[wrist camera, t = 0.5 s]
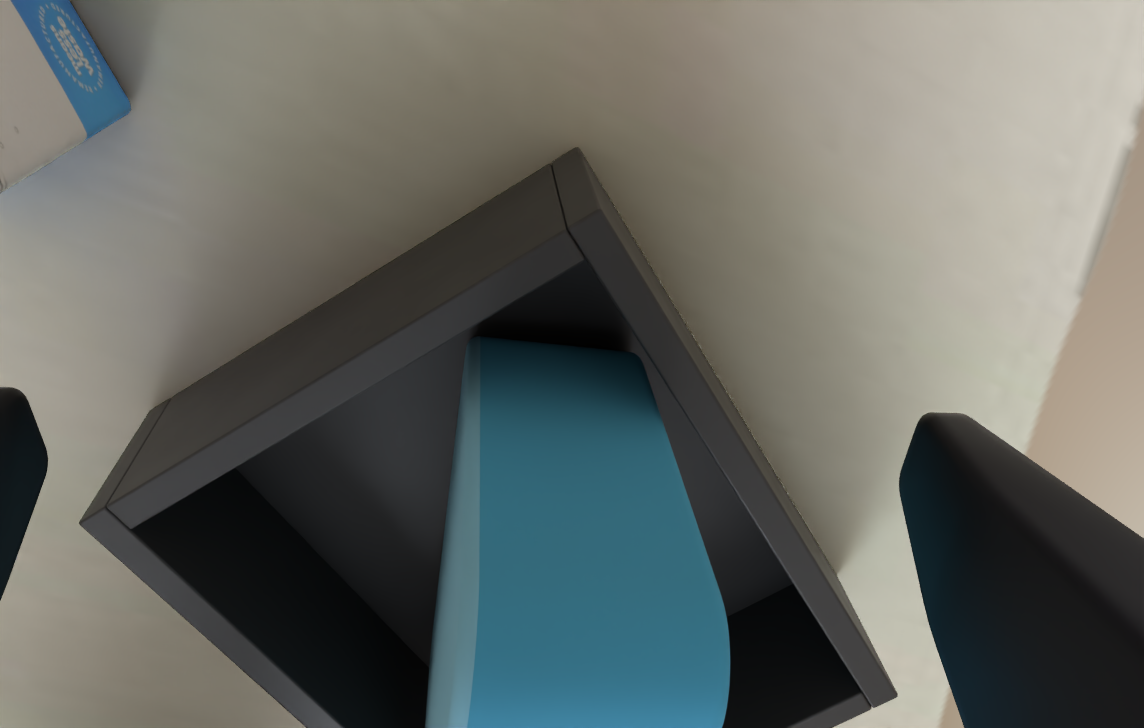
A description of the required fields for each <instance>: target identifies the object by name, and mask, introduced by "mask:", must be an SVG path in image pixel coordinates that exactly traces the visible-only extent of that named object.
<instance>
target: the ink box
mask: <svg viewBox="0 0 1144 728" xmlns="http://www.w3.org/2000/svg"><path fill="white" fill-rule="evenodd" d="M130 111H131V105H130V102H129V100H128V98H127V96H126V95H125V93H124V92H123V90H122V88H121V87H120V85H119V83H118V81H117V80H116V78H115V76H114V75H113V73H112V71H111V70H110V68H109V66H108V64H107V63H106V61H105V60H104V58H103V56H102V55H101V53H100V51H99V50H98V48H97V46H96V45H95V43H94V41H93V39H92V38H91V36H90V34H89V33H88V31H87V29H86V28H85V26H84V24H83V23H82V21H81V19H80V18H79V16H78V14H77V13H76V11H75V9H74V8H73V6H72V4H71V3H70V1H69V0H0V193H1V192H3V191H5V190H7V189H8V188H10V187H12V186H13V185H15V184H17V183H18V182H20V181H22V180H23V179H25V178H26V177H28V176H30V175H31V174H33V173H35V172H36V171H38V170H39V169H41V168H43V167H44V166H46V165H47V164H49V163H50V162H52V161H54V160H55V159H57V158H58V157H60V156H61V155H63V154H64V153H66V152H68V151H69V150H71V149H73V148H74V147H76V146H78V145H79V144H81V143H82V142H84V141H85V140H87V139H88V138H90V137H92V136H93V135H95V134H96V133H98V132H100V131H101V130H103V129H104V128H106V127H108V126H109V125H111V124H112V123H114V122H116V121H117V120H119V119H121V118H122V117H124V116H125V115H127V114H128V113H129V112H130Z"/></svg>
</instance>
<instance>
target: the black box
mask: <svg viewBox="0 0 1144 728" xmlns="http://www.w3.org/2000/svg"><path fill="white" fill-rule="evenodd" d="M477 336H480V337H490V338H500V339H509V340H519V341H528V342H538V343H548V344H557V345H567V346H576V347H586V348H596V349H605V350H615V351H625V352H632V353H635V354H636V355H638V356H639V357H640V359H641V360H642V362H643V365H644V368H645V371H646V374H647V376H648V379H649V382H650V385H651V388H652V391H653V394H654V397H655V400H656V403H657V406H658V409H659V412H660V415H661V418H662V421H663V424H664V427H665V430H666V433H667V436H668V439H669V442H670V445H671V448H672V451H673V454H674V457H675V460H676V463H677V466H678V469H679V472H680V475H681V477H682V480H683V483H684V486H685V489H686V492H687V495H688V498H689V501H690V504H691V507H692V510H693V513H694V516H695V519H696V522H697V525H698V528H699V531H700V534H701V537H702V540H703V543H704V546H705V549H706V552H707V555H708V558H709V561H710V564H711V567H712V570H713V573H714V576H715V578H716V581H717V584H718V587H719V590H720V593H721V597H722V600H723V603H724V607H725V612H726V617H727V623H728V631H729V643H730V684H729V695H728V703H727V709H726V714H725V719H724V723H723V727H722V728H832V727H834V726H837V725H839V724H841V723H843V722H845V721H847V720H849V719H852V718H854V717H856V716H858V715H860V714H862V713H864V712H867V711H869V710H870V709H871V706H872V707H873V708H874V707H877V706H879V705H881V704H884V703H886V702H888V701H890V700H892V699H894V698H896V697H897V692H896V690H895V688H894V686H893V684H892V682H891V680H890V678H889V676H888V674H887V673H886V671H885V669H884V667H883V665H882V663H881V661H880V659H879V657H878V655H877V653H876V651H875V649H874V647H873V645H872V643H871V641H870V639H869V637H868V636H867V634H866V632H865V630H864V628H863V626H862V624H861V622H860V620H859V618H858V616H857V614H856V612H855V610H854V608H853V606H852V604H851V602H850V600H849V599H848V597H847V595H846V593H845V591H844V589H843V587H842V585H841V583H840V581H839V579H838V577H837V576H836V574H835V572H834V571H833V569H832V567H831V566H830V564H829V562H828V561H827V559H826V557H825V556H824V554H823V552H822V551H821V549H820V547H819V546H818V544H817V542H816V541H815V539H814V537H813V536H812V534H811V532H810V531H809V529H808V527H807V526H806V524H805V522H804V521H803V519H802V517H801V516H800V514H799V512H798V511H797V509H796V507H795V506H794V504H793V502H792V501H791V499H790V497H789V496H788V494H787V492H786V491H785V489H784V487H783V486H782V484H781V483H780V481H779V479H778V478H777V476H776V474H775V473H774V471H773V469H772V468H771V466H770V464H769V463H768V461H767V459H766V458H765V456H764V454H763V453H762V451H761V449H760V448H759V446H758V444H757V443H756V441H755V439H754V438H753V436H752V434H751V433H750V431H749V429H748V428H747V426H746V424H745V423H744V421H743V419H742V418H741V416H740V414H739V413H738V411H737V409H736V408H735V406H734V404H733V403H732V401H731V399H730V398H729V396H728V394H727V393H726V391H725V389H724V388H723V386H722V385H721V383H720V381H719V380H718V378H717V376H716V375H715V373H714V371H713V370H712V368H711V366H710V365H709V363H708V361H707V360H706V358H705V356H704V355H703V353H702V351H701V350H700V348H699V346H698V345H697V343H696V341H695V340H694V338H693V336H692V335H691V333H690V331H689V330H688V328H687V326H686V325H685V323H684V321H683V320H682V318H681V316H680V315H679V313H678V311H677V310H676V308H675V306H674V305H673V303H672V301H671V300H670V298H669V296H668V295H667V293H666V291H665V290H664V288H663V286H662V285H661V283H660V282H659V280H658V278H657V277H656V275H655V273H654V272H653V270H652V268H651V267H650V265H649V263H648V262H647V260H646V258H645V257H644V255H643V253H642V252H641V250H640V248H639V247H638V245H637V243H636V242H635V240H634V238H633V237H632V235H631V233H630V232H629V230H628V228H627V227H626V225H625V223H624V222H623V220H622V218H621V217H620V215H619V213H618V212H617V210H616V208H615V207H614V205H613V203H612V202H611V200H610V198H609V197H608V195H607V193H606V192H605V190H604V188H603V187H602V185H601V184H600V182H599V180H598V179H597V177H596V175H595V174H594V172H593V170H592V169H591V167H590V165H589V164H588V162H587V160H586V159H585V157H584V155H583V154H582V152H581V150H580V149H579V148H578V147H577V148H574V149H573V150H571V151H569V152H568V153H566V154H565V155H563V156H561V157H560V158H558V159H556V160H555V161H553V162H552V165H550V164H548V165H546V166H545V167H543V168H542V169H540V170H538V171H537V172H535V173H534V174H532V175H530V176H529V177H527V178H525V179H524V180H522V181H521V182H519V183H517V184H516V185H514V186H513V187H511V188H509V189H508V190H506V191H504V192H503V193H501V194H500V195H498V196H496V197H495V198H493V199H492V200H490V201H488V202H487V203H485V204H483V205H482V206H480V207H479V208H477V209H475V210H474V211H472V212H471V213H469V214H467V215H466V216H464V217H462V218H461V219H459V220H458V221H456V222H454V223H453V224H451V225H450V226H448V227H446V228H445V229H443V230H441V231H440V232H438V233H437V234H435V235H433V236H432V237H430V238H429V239H427V240H425V241H424V242H422V243H420V244H419V245H417V246H416V247H414V248H412V249H411V250H409V251H408V252H406V253H404V254H403V255H401V256H399V257H398V258H396V259H395V260H393V261H391V262H390V263H388V264H386V265H385V266H383V267H382V268H380V269H378V270H377V271H375V272H374V273H372V274H370V275H369V276H367V277H365V278H364V279H362V280H361V281H359V282H357V283H356V284H354V285H353V286H351V287H349V288H348V289H346V290H344V291H343V292H341V293H340V294H338V295H336V296H335V297H333V298H332V299H330V300H328V301H327V302H325V303H323V304H322V305H320V306H319V307H317V308H315V309H314V310H312V311H311V312H309V313H307V314H306V315H304V316H302V317H301V318H299V319H298V320H296V321H294V322H293V323H291V324H290V325H288V326H286V327H285V328H283V329H281V330H280V331H278V332H277V333H275V334H273V335H272V336H270V337H269V338H267V339H265V340H264V341H262V342H260V343H259V344H257V345H256V346H254V347H252V348H251V349H249V350H248V351H246V352H244V353H243V354H241V355H239V356H238V357H236V358H235V359H233V360H231V361H230V362H228V363H226V364H225V365H223V366H222V367H220V368H218V369H217V370H215V371H214V372H212V373H210V374H209V375H207V376H205V377H204V378H202V379H201V380H199V381H197V382H196V383H194V384H193V385H191V386H189V387H188V388H186V389H184V390H183V391H181V392H180V393H178V394H176V395H175V396H173V397H172V398H171V399H168V400H167V401H165V402H163V403H162V404H160V405H159V406H157V407H155V408H154V409H152V410H150V411H149V413H148V414H147V416H146V418H145V419H144V421H143V422H142V424H141V426H140V427H139V429H138V430H137V432H136V433H135V435H134V437H133V438H132V440H131V441H130V443H129V444H128V446H127V448H126V449H125V451H124V452H123V454H122V455H121V457H120V459H119V460H118V462H117V463H116V465H115V467H114V468H113V470H112V471H111V473H110V474H109V476H108V478H107V479H106V481H105V482H104V484H103V485H102V487H101V489H100V490H99V492H98V493H97V495H96V496H95V498H94V500H93V501H92V503H91V504H90V506H89V508H88V509H87V511H86V512H85V514H84V515H83V517H82V519H81V520H80V522H79V524H80V525H81V526H82V527H83V528H84V529H85V530H86V531H87V532H89V533H90V534H91V535H92V536H93V537H94V538H95V539H96V540H97V541H99V542H100V543H101V544H102V545H103V546H104V547H105V548H106V549H108V550H109V551H110V552H111V553H112V554H113V555H114V556H115V557H116V558H118V559H119V560H120V561H121V562H122V563H123V564H124V565H125V566H127V567H128V568H129V569H130V570H131V571H132V572H133V573H134V574H135V575H137V576H138V577H139V578H140V579H141V580H142V581H143V582H144V583H146V584H147V585H148V586H149V587H150V588H151V589H152V590H153V591H154V592H156V593H157V594H158V595H159V596H160V597H161V598H162V599H163V600H165V601H166V602H167V603H168V604H169V605H170V606H171V607H172V608H173V609H175V610H176V611H177V612H178V613H179V614H180V615H181V616H182V617H184V618H185V619H186V620H187V621H188V622H189V623H190V624H191V625H192V626H194V627H195V628H196V629H197V630H198V631H199V632H200V633H201V634H203V635H204V636H205V637H206V638H207V639H208V640H209V641H210V642H211V643H213V644H214V645H215V646H216V647H217V648H218V649H219V650H220V651H222V652H223V653H224V654H225V655H226V656H227V657H228V658H229V659H230V660H232V661H233V662H234V663H235V664H236V665H237V666H238V667H239V668H241V669H242V670H243V671H244V672H245V673H246V674H247V675H248V676H249V677H251V678H252V679H253V680H254V681H255V682H256V683H257V684H258V685H260V686H261V687H262V688H263V689H264V690H265V691H266V692H267V693H268V694H270V695H271V696H272V697H273V698H274V699H275V700H276V701H277V702H278V703H280V704H281V705H282V706H283V707H284V708H285V709H286V710H287V711H289V712H290V713H291V714H292V715H293V716H294V717H295V718H296V719H297V720H299V721H300V722H301V723H302V724H303V725H304V726H305V727H306V728H425V719H426V705H427V690H428V676H429V664H430V653H431V643H432V633H433V623H434V615H435V606H436V598H437V589H438V581H439V572H440V564H441V555H442V547H443V538H444V530H445V521H446V513H447V504H448V496H449V487H450V479H451V470H452V462H453V453H454V445H455V436H456V428H457V419H458V410H459V402H460V393H461V385H462V376H463V368H464V361H465V354H466V348H467V344H468V342H469V341H470V340H471V339H472V338H474V337H477Z"/></svg>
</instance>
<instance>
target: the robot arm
mask: <svg viewBox="0 0 1144 728" xmlns="http://www.w3.org/2000/svg"><path fill="white" fill-rule="evenodd" d="M47 467H48V456H47V450H46V447H45V444H44V442H43V439H42V436H41V434H40V431H39V428H38V426H37V423H36V420H35V418H34V415H33V413H32V410H31V407H30V405H29V402H28V400H27V398H26V396H25V395H24V394H23V393H22V392H21V391H20V390H18V389H15V388H10V387H0V600H1V598H2V595H3V593H4V590H5V588H6V585H7V582H8V580H9V577H10V574H11V571H12V568H13V566H14V563H15V560H16V557H17V554H18V552H19V549H20V546H21V543H22V541H23V538H24V535H25V532H26V529H27V527H28V524H29V521H30V518H31V515H32V513H33V510H34V507H35V504H36V502H37V499H38V496H39V493H40V490H41V488H42V485H43V482H44V479H45V476H46V473H47ZM899 491H900V497H901V502H902V506H903V511H904V515H905V520H906V524H907V529H908V534H909V538H910V543H911V547H912V552H913V556H914V561H915V565H916V570H917V574H918V579H919V584H920V588H921V593H922V597H923V602H924V606H925V610H926V614H927V618H928V622H929V625H930V628H931V632H932V635H933V638H934V641H935V644H936V647H937V650H938V653H939V656H940V659H941V662H942V665H943V667H944V670H945V673H946V676H947V679H948V682H949V685H950V688H951V690H952V693H953V696H954V699H955V702H956V705H957V707H958V710H959V713H960V716H961V719H962V722H963V725H964V728H1144V538H1142V537H1141V536H1139V535H1138V534H1137V533H1135V532H1134V531H1132V530H1131V529H1129V528H1128V527H1126V526H1125V525H1124V524H1122V523H1121V522H1119V521H1118V520H1117V519H1115V518H1114V517H1112V516H1111V515H1109V514H1108V513H1106V512H1105V511H1104V510H1102V509H1101V508H1099V507H1098V506H1096V505H1095V504H1093V503H1092V502H1091V501H1089V500H1088V499H1086V498H1085V497H1084V496H1082V495H1081V494H1079V493H1078V492H1076V491H1075V490H1073V489H1072V488H1071V487H1069V486H1068V485H1066V484H1065V483H1064V482H1062V481H1060V480H1059V479H1058V478H1056V477H1055V476H1053V475H1052V474H1051V473H1049V472H1048V471H1046V470H1045V469H1043V468H1042V467H1040V466H1039V465H1038V464H1036V463H1035V462H1033V461H1032V460H1031V459H1029V458H1028V457H1026V456H1025V455H1023V454H1022V453H1021V452H1019V451H1018V450H1016V449H1015V448H1013V447H1012V446H1010V445H1009V444H1008V443H1006V442H1005V441H1003V440H1002V439H1000V438H999V437H998V436H996V435H995V434H993V433H992V432H990V431H989V430H988V429H986V428H985V427H983V426H982V425H980V424H979V423H978V422H976V421H975V420H973V419H972V418H970V417H969V416H967V415H964V414H960V413H927V414H925V415H923V416H922V417H921V418H920V420H919V421H918V424H917V426H916V428H915V431H914V434H913V437H912V440H911V443H910V446H909V449H908V452H907V454H906V457H905V460H904V463H903V466H902V469H901V473H900V478H899Z"/></svg>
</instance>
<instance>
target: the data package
mask: <svg viewBox="0 0 1144 728" xmlns="http://www.w3.org/2000/svg"><path fill="white" fill-rule="evenodd" d="M729 684H730V643H729V631H728V623H727V617H726V612H725V607H724V603H723V600H722V597H721V593H720V590H719V587H718V584H717V581H716V578H715V576H714V573H713V570H712V567H711V564H710V561H709V558H708V555H707V552H706V549H705V546H704V543H703V540H702V537H701V534H700V531H699V528H698V525H697V522H696V519H695V516H694V513H693V510H692V507H691V504H690V501H689V498H688V495H687V492H686V489H685V486H684V483H683V480H682V477H681V475H680V472H679V469H678V466H677V463H676V460H675V457H674V454H673V451H672V448H671V445H670V442H669V439H668V436H667V433H666V430H665V427H664V424H663V421H662V418H661V415H660V412H659V409H658V406H657V403H656V400H655V397H654V394H653V391H652V388H651V385H650V382H649V379H648V376H647V374H646V371H645V368H644V365H643V362H642V360H641V359H640V357H639V356H638V355H636V354H635V353H632V352H625V351H615V350H605V349H596V348H586V347H576V346H567V345H557V344H548V343H538V342H528V341H519V340H509V339H500V338H490V337H480V336H477V337H474V338H472V339H471V340H470V341H469V342H468V344H467V348H466V354H465V361H464V368H463V376H462V385H461V393H460V402H459V410H458V419H457V428H456V436H455V445H454V453H453V462H452V470H451V479H450V487H449V496H448V504H447V513H446V521H445V530H444V538H443V547H442V555H441V564H440V572H439V581H438V589H437V598H436V606H435V615H434V623H433V633H432V643H431V653H430V664H429V676H428V690H427V705H426V719H425V728H722V727H723V723H724V719H725V714H726V709H727V703H728V695H729Z"/></svg>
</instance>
